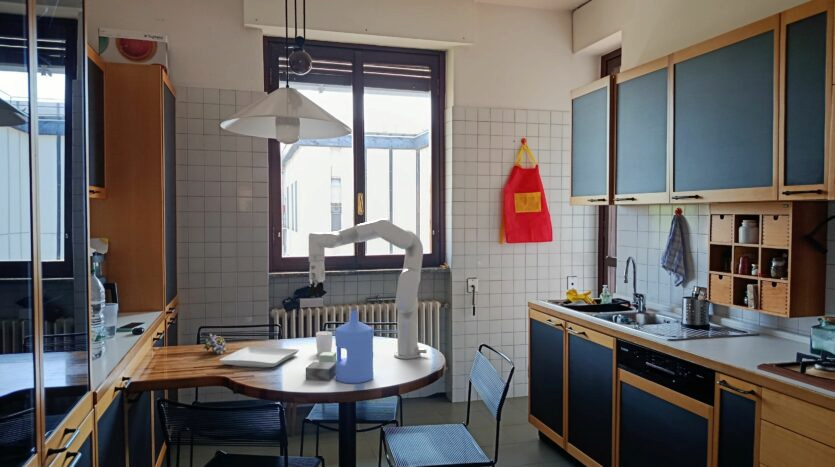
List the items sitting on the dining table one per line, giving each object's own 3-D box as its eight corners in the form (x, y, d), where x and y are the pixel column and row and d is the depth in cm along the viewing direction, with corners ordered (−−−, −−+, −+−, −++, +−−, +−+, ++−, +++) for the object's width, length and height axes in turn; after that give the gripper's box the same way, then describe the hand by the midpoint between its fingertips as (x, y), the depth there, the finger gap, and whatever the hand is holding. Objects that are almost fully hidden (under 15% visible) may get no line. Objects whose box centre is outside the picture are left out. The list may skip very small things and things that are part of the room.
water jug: (374, 373, 251) (373, 308, 250) (372, 384, 236) (372, 314, 235) (337, 373, 251) (337, 308, 250) (333, 384, 235) (333, 314, 234)
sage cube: (336, 365, 264) (336, 352, 264) (332, 369, 258) (332, 355, 258) (323, 365, 265) (323, 351, 265) (319, 368, 259) (319, 355, 259)
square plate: (275, 371, 256) (275, 362, 256) (217, 367, 262) (217, 359, 262) (299, 356, 283) (299, 348, 283) (247, 353, 288) (247, 345, 288)
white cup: (334, 351, 290) (334, 331, 290) (330, 355, 282) (330, 334, 282) (318, 351, 291) (318, 331, 290) (314, 355, 283) (314, 334, 283)
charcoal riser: (336, 374, 250) (336, 362, 249) (329, 381, 240) (329, 368, 240) (313, 373, 251) (313, 361, 251) (305, 380, 241) (305, 368, 241)
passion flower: (220, 365, 285) (218, 348, 278) (199, 360, 286) (196, 344, 278) (230, 347, 294) (228, 331, 287) (209, 343, 295) (207, 327, 287)
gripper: (318, 259, 273) (318, 296, 274) (329, 256, 290) (329, 291, 291) (302, 259, 274) (302, 296, 275) (315, 256, 291) (315, 291, 292)
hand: (316, 293), depth 283 cm, fingers open, 9 cm apart
